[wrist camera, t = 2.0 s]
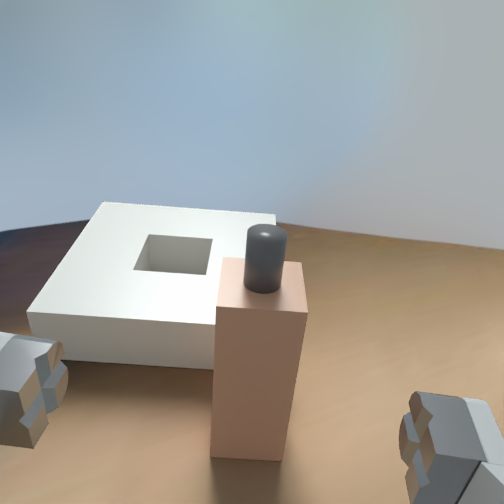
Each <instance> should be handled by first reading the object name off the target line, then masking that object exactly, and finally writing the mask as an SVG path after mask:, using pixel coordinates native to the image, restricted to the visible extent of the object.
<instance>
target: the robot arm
mask: <svg viewBox="0 0 504 504" xmlns="http://www.w3.org/2000/svg"><path fill="white" fill-rule="evenodd" d="M64 354H65V352H64V348H63V344H62V343H61V342H59V341H55V340H49V339H43V338H37V337H31V336H25V335H19V334H18V335H16V334H10V333H4V332H0V445H7V446H15V447H23V448H32V449H34V447H35V445H36V444H37V442H38V440H39V439H40V437H41V435H42V434H43V432H44V430H45V429H46V427H47V425H48V424H49V423H48V418H47V414H48V413H50V412H52V411H53V410H55V409H56V408H58V407H59V405H60V403H61V401H62V400H63V398H64V395H65V392H66V389H67V386H68V369H67V367H66V366H65V365H64V364H63V363H62V361H61V359H62V357H63V355H64ZM409 406H410V411H411V412H409V413H407V414H406V415H404V416H403V419H402V422H401V425H400V431H399V449H400V454H401V459H402V460H403V461H404V462H405V463H406V465H407V466H408V467H409V469H408V471H407V473H406V476H405V480H406V485H407V490H408V495H409V500H410V504H504V439H503V436H502V434H501V432H500V430H499V427H498V425H497V423H496V421H495V418H494V416H493V414H492V411H491V409H490V407H489V405H488V403H487V402H486V401H485V400H479V399H471V398H463V397H456V396H448V395H441V394H433V393H426V392H418V391H415V392H414V393H413V394H412V396H411V398H410V400H409Z"/></svg>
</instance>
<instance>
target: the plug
mask: <svg viewBox="0 0 504 504" xmlns="http://www.w3.org/2000/svg"><path fill="white" fill-rule="evenodd" d="M286 242H287V232H286V231H285V230H284V229H283V228H281V227H279V226H276V225H272V224H257V225H253V226H251V227H250V228H249V229H248V230H247V240H246V253H245V258H231V257H223V260H222V267H221V274H220V281H219V288H218V296H217V303H216V319H215V344H214V370H213V395H212V420H211V445H210V457H219V458H235V459H251V460H267V461H282V457H283V451H284V445H285V440H286V434H287V428H288V423H289V417H290V411H291V406H292V400H293V394H294V389H295V383H296V377H297V372H298V366H299V360H300V355H301V349H302V343H303V338H304V332H305V326H306V321H307V315H308V309H307V302H306V294H305V287H304V279H303V272H302V265H301V262H287V261H284V257H285V250H286Z"/></svg>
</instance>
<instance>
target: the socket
mask: <svg viewBox="0 0 504 504" xmlns="http://www.w3.org/2000/svg"><path fill="white" fill-rule="evenodd" d="M257 224H272V225H276V220H275V214H261V213H248V212H235V211H221V210H207V209H194V208H181V207H167V206H153V205H141V204H128V203H114V202H103V203H102V204H101V206H100V207H99V208H98V210H97V211H96V213H95V214H94V216H93V217H92V218H91V220H90V221H89V223H88V224H87V226H86V227H85V228H84V230H83V231H82V233H81V234H80V236H79V237H78V238H77V240H76V241H75V243H74V244H73V246H72V247H71V248H70V250H69V251H68V253H67V254H66V256H65V257H64V258H63V260H62V261H61V263H60V264H59V266H58V267H57V268H56V270H55V271H54V273H53V274H52V276H51V277H50V278H49V280H48V281H47V283H46V284H45V286H44V287H43V288H42V290H41V291H40V293H39V294H38V296H37V297H36V298H35V300H34V301H33V303H32V304H31V306H30V307H29V308H28V310H27V311H26V312H27V316H28V320H29V324H30V328H31V333H32V337H37V338H43V339H49V340H55V341H59V342H61V343H62V344H63V348H64V352H65V354H64V355H63V357H62V359H61V360H76V361H91V362H106V363H121V364H136V365H150V366H165V367H180V368H195V369H210V370H214V344H215V319H216V303H217V296H218V288H219V281H220V274H221V267H222V260H223V257H231V258H245V253H246V240H247V230H248V229H249V228H250V227H251V226H253V225H257Z"/></svg>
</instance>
